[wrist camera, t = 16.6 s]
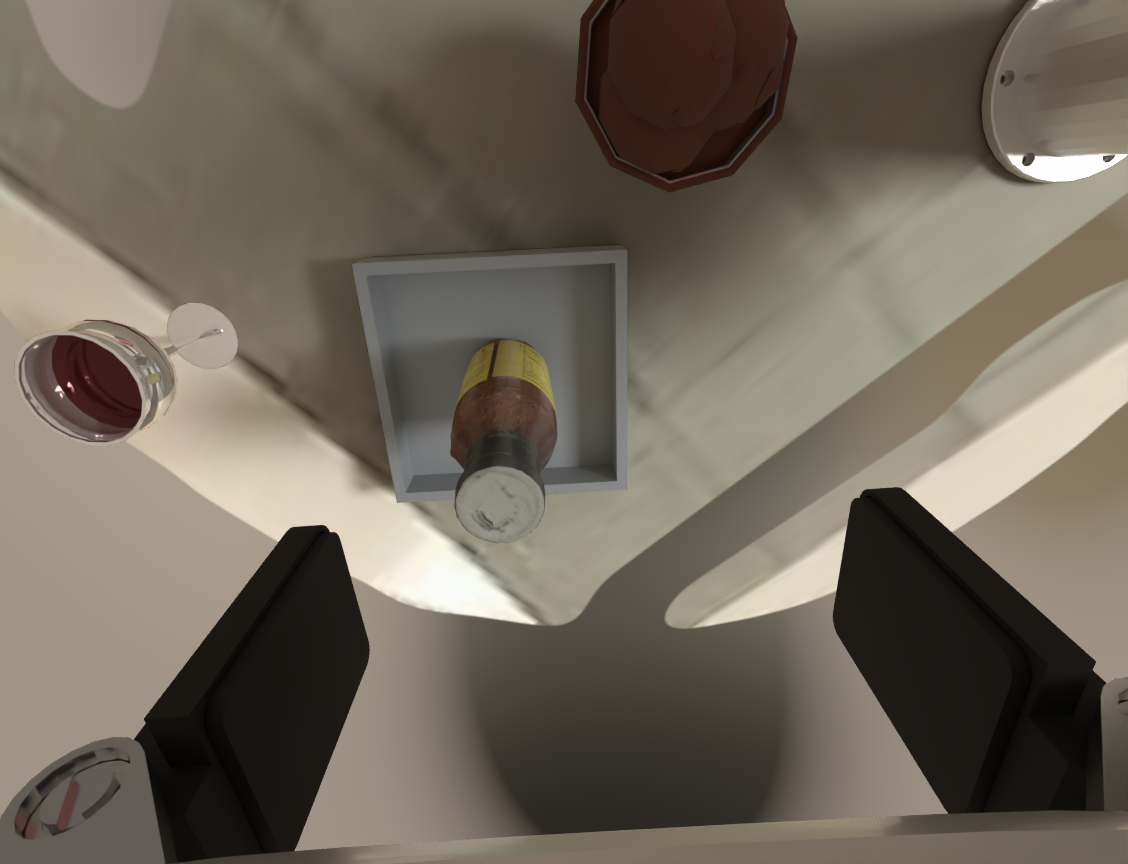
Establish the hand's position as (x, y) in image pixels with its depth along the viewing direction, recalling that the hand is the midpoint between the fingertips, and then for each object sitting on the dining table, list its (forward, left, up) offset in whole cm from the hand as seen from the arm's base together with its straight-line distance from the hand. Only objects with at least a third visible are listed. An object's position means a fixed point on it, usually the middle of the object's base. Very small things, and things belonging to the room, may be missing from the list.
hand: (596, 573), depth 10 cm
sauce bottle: (+4, +7, -33) cm, 34 cm away
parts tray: (+4, +7, -33) cm, 34 cm away
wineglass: (+26, +3, -34) cm, 43 cm away
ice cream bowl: (-7, -11, -34) cm, 36 cm away
